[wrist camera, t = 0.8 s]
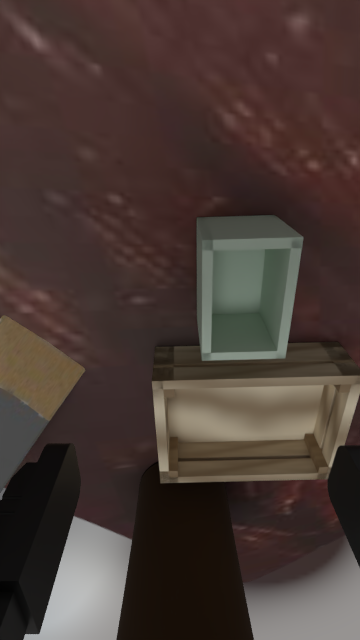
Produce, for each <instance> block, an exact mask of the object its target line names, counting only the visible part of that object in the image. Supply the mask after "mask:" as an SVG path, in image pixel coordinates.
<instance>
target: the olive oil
mask: <svg viewBox="0 0 360 640" xmlns="http://www.w3.org/2000/svg"><path fill="white" fill-rule="evenodd" d="M117 640H254V638H253V633H252V628H251V623H250V618H249V613H248V608H247V603H246V598H245V593H244V587H243V582H242V577H241V571H240V566H239V561H238V556H237V550H236V545H235V540H234V534H233V529H232V523H231V517H230V512H229V506H228V500H227V494H226V488H225V483H224V482H190V483H161V482H160V470H159V462H158V463H156V464H154V465H153V466H151V467H150V468H149V469H148V470H147V471H146V472H145V473H144V475H143V477H142V479H141V482H140V488H139V495H138V503H137V510H136V518H135V525H134V532H133V539H132V546H131V552H130V558H129V565H128V571H127V578H126V584H125V591H124V597H123V604H122V609H121V616H120V621H119V627H118V634H117Z"/></svg>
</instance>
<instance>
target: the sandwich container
mask: <svg viewBox="0 0 360 640" xmlns="http://www.w3.org/2000/svg"><path fill="white" fill-rule="evenodd" d="M84 371H85V369H84V368H83V367H82V366H81V365H79V364H78V363H76V362H75V361H74V360H72V359H71V358H69V357H68V356H67V355H65V354H64V353H62V352H61V351H60V350H58V349H57V348H55V347H54V346H53V345H51V344H50V343H48V342H47V341H45V340H44V339H42V338H40V337H39V336H37V335H36V334H34V333H33V332H31V331H29V330H28V329H26V328H25V327H23V326H21V325H20V324H18V323H17V322H15V321H13V320H12V319H10V318H9V317H7V316H4V315H3V316H2V317H1V318H0V492H1V491H2V490H3V488H4V487H5V485H6V484H7V482H8V481H9V479H10V478H11V476H12V475H13V474H14V472H15V471H16V469H17V468H18V466H19V465H20V463H21V462H22V460H23V459H24V458H25V456H26V455H27V453H28V452H29V450H30V449H31V447H32V446H33V444H34V443H35V442H36V440H37V439H38V437H39V436H40V434H41V433H42V431H43V430H44V429H45V427H46V426H47V424H48V423H49V421H50V420H51V418H52V417H53V416H54V414H55V413H56V411H57V410H58V408H59V407H60V406H61V404H62V403H63V401H64V400H65V398H66V397H67V396H68V394H69V393H70V391H71V390H72V388H73V387H74V386H75V384H76V383H77V381H78V380H79V379H80V377H81V376H82V374H83V373H84Z"/></svg>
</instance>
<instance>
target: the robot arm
mask: <svg viewBox="0 0 360 640" xmlns="http://www.w3.org/2000/svg"><path fill="white" fill-rule="evenodd" d="M80 485H81V479H80V472H79V467H78V462H77V456H76V451H75V446H74V444H47V445H46V446H45V447H44V449H43V451H42V453H41V456H40V458H39V460H38V462H37V463H26V464H25V465H24V466H23V467H22V468H21V469H20V470H19V471H18V472H17V473H16V474H15V475H14V476H13V477H12V478H11V480H10V482H9V484H8V486H7V488H6V490H5V492H4V494H3V496H2V500H0V640H23V639H24V635H25V634H39V633H40V630H41V626H42V623H43V620H44V616H45V613H46V609H47V605H48V602H49V599H50V595H51V592H52V588H53V585H54V582H55V578H56V574H57V571H58V568H59V564H60V561H61V557H62V554H63V550H64V547H65V544H66V540H67V537H68V533H69V529H70V526H71V523H72V519H73V516H74V513H75V509H76V506H77V502H78V498H79V494H80ZM328 492H329V497H330V500H331V502H332V505H333V507H334V509H335V512H336V514H337V516H338V518H339V521H340V523H341V525H342V528H343V530H344V532H345V535H346V537H347V539H348V542H349V544H350V546H351V548H352V551H353V553H354V555H355V558H356V560H357V562H358V565H359V566H360V446H355V445H341V446H339V447H338V448H337V451H336V454H335V457H334V461H333V464H332V467H331V471H330V474H329V477H328Z"/></svg>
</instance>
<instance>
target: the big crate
mask: <svg viewBox="0 0 360 640" xmlns="http://www.w3.org/2000/svg"><path fill="white" fill-rule="evenodd" d="M152 388H153V399H154V411H155V423H156V435H157V447H158V458H159V470H160V482H161V483H190V482H229V481H268V480H307V479H328V477H329V474H330V471H331V467H332V464H333V461H334V457H335V454H336V451H337V448H338V447H339V446H341V445H345V441H346V438H347V434H348V431H349V428H350V424H351V421H352V418H353V414H354V411H355V407H356V404H357V401H358V397H359V394H360V369H359V367H358V366H357V365H356V364H355V362H354V361H353V360H352V358H351V357H350V356H349V355H348V353H347V352H346V351H345V350H344V348H343V347H342V346H341V345H340V343H339V342H314V343H288V344H287V351H286V358H285V359H248V360H211V361H202V359H201V350H200V346H170V347H155V356H154V366H153V376H152Z"/></svg>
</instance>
